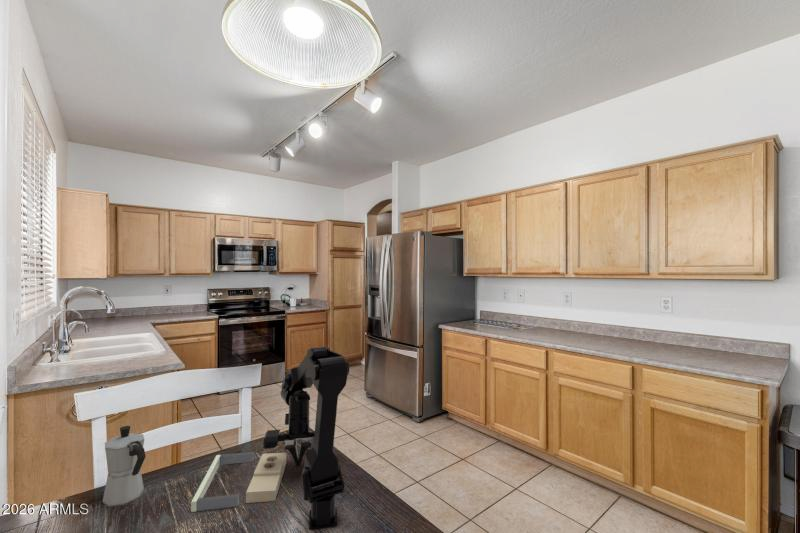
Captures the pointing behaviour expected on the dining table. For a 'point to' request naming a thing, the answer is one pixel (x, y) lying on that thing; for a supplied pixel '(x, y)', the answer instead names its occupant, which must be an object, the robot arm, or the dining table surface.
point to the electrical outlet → (266, 478)
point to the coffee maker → (124, 468)
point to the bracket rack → (217, 501)
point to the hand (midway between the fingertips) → (298, 466)
